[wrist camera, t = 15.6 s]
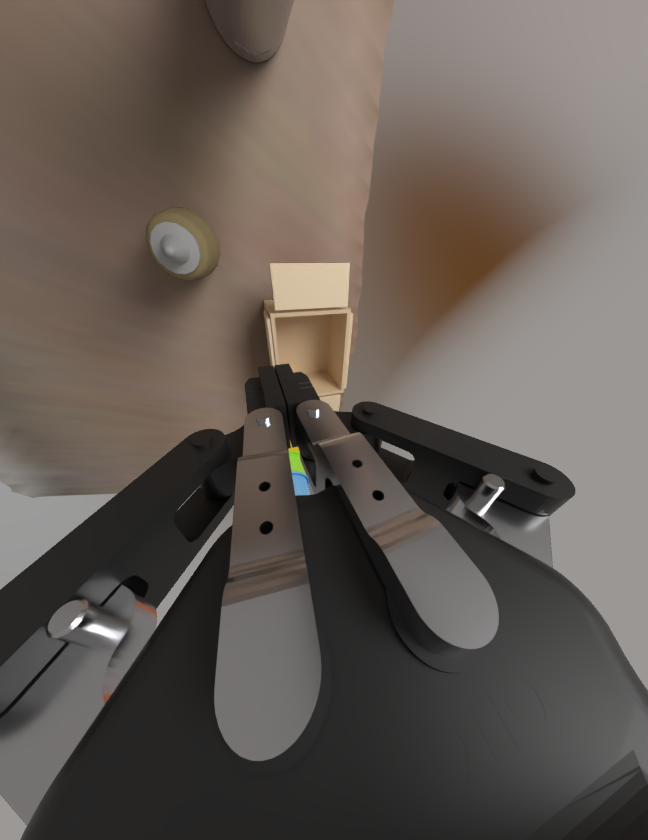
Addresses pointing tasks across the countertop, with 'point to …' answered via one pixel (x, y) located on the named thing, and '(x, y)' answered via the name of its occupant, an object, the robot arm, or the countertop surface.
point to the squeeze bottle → (182, 243)
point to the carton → (311, 343)
